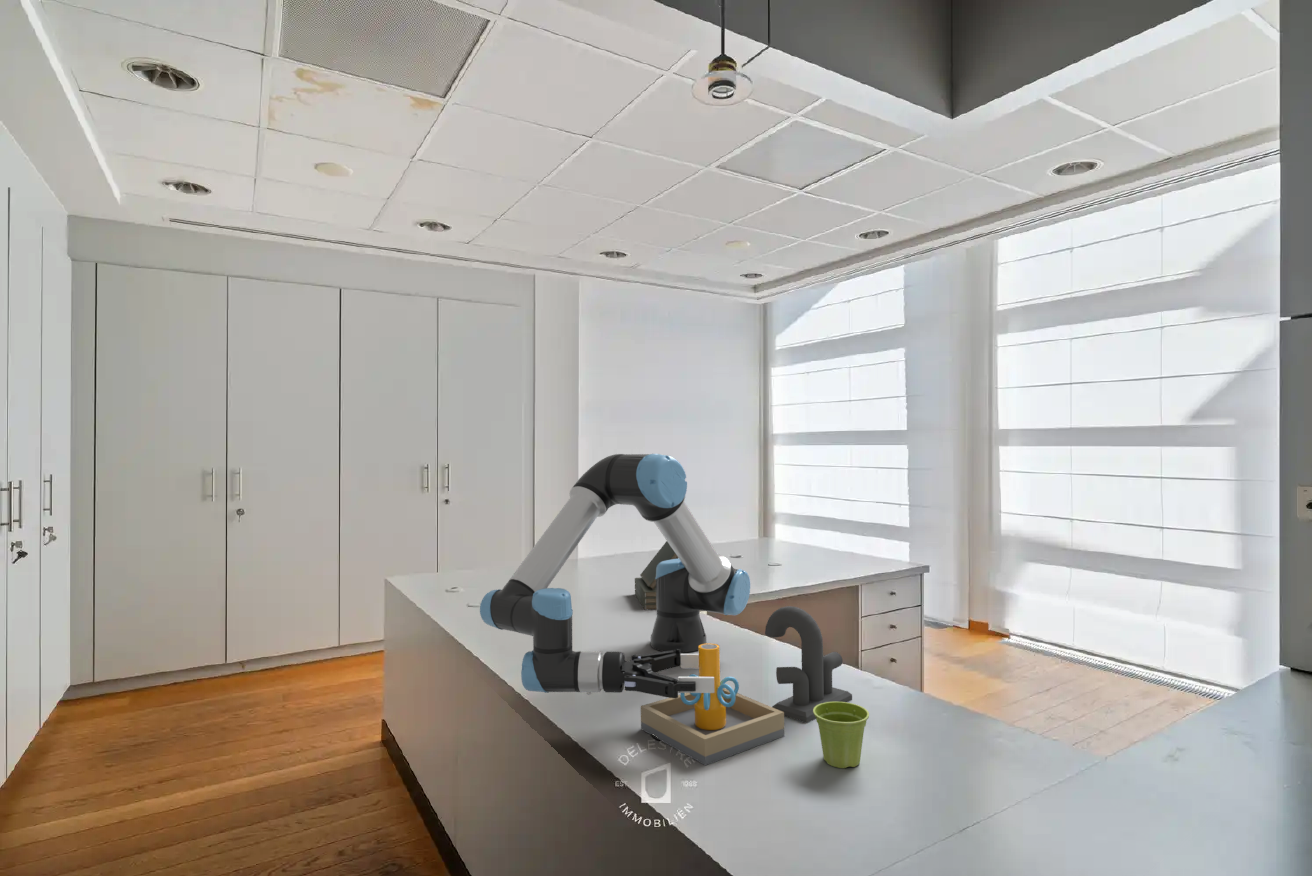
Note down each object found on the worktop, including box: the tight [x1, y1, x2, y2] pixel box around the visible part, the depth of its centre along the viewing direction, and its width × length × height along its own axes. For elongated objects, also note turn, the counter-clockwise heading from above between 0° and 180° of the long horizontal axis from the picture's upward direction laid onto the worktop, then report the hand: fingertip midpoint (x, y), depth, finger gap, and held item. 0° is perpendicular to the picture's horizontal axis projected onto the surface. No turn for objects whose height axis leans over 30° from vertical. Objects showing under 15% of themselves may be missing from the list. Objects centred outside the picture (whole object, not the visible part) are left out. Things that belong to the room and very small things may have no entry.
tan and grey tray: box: [640, 688, 785, 766], centre depth 138 cm, size 19×19×4 cm
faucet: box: [764, 605, 853, 724], centre depth 154 cm, size 18×16×20 cm
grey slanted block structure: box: [634, 540, 679, 611], centre depth 247 cm, size 23×20×25 cm
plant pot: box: [813, 701, 870, 769], centre depth 125 cm, size 9×9×9 cm
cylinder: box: [679, 643, 740, 730], centre depth 138 cm, size 12×10×15 cm
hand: (713, 672), depth 138 cm, fingers open, 13 cm apart
